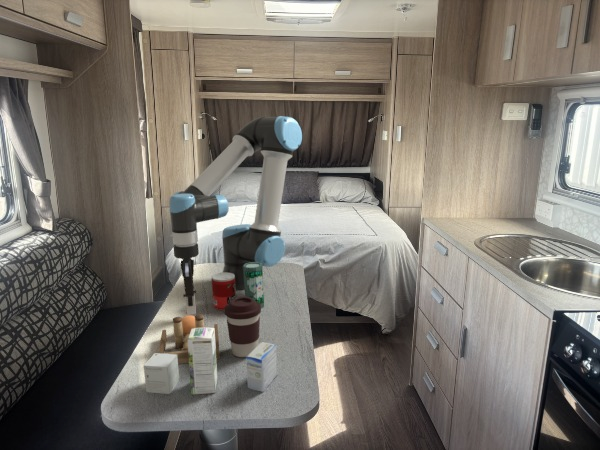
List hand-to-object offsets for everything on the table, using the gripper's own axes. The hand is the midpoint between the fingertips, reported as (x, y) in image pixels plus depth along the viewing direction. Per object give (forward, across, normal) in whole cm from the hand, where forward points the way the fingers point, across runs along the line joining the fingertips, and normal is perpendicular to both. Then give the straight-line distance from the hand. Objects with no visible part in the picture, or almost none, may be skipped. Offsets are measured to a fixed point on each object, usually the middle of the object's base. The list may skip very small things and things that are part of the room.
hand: (191, 313), depth 146 cm
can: (+2, -5, +21) cm, 22 cm away
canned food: (+2, -8, +11) cm, 14 cm away
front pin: (+1, +15, 0) cm, 15 cm away
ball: (-1, +11, 0) cm, 11 cm away
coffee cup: (+2, +25, +15) cm, 29 cm away
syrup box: (+2, +40, +4) cm, 40 cm away
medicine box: (+2, +41, +18) cm, 45 cm away
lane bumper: (+2, +19, 0) cm, 19 cm away
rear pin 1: (+2, +18, -3) cm, 18 cm away
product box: (+2, +37, -6) cm, 38 cm away
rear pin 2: (+2, +18, +3) cm, 18 cm away
